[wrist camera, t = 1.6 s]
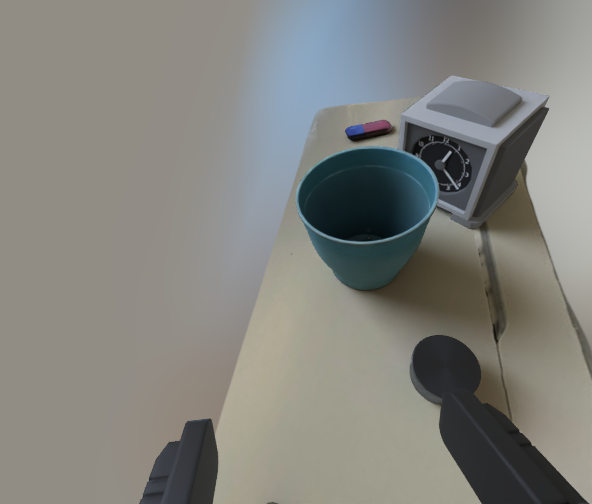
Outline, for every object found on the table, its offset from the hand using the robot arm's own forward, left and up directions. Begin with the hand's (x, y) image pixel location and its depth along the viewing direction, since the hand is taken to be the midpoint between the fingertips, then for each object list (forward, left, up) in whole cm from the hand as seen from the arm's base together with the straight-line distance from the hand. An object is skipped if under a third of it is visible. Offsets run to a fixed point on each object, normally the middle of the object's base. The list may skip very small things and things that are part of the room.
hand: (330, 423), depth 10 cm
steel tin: (-1, -14, -32) cm, 35 cm away
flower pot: (+18, -22, -33) cm, 43 cm away
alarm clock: (+17, -45, -33) cm, 58 cm away
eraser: (+42, -51, -33) cm, 73 cm away
